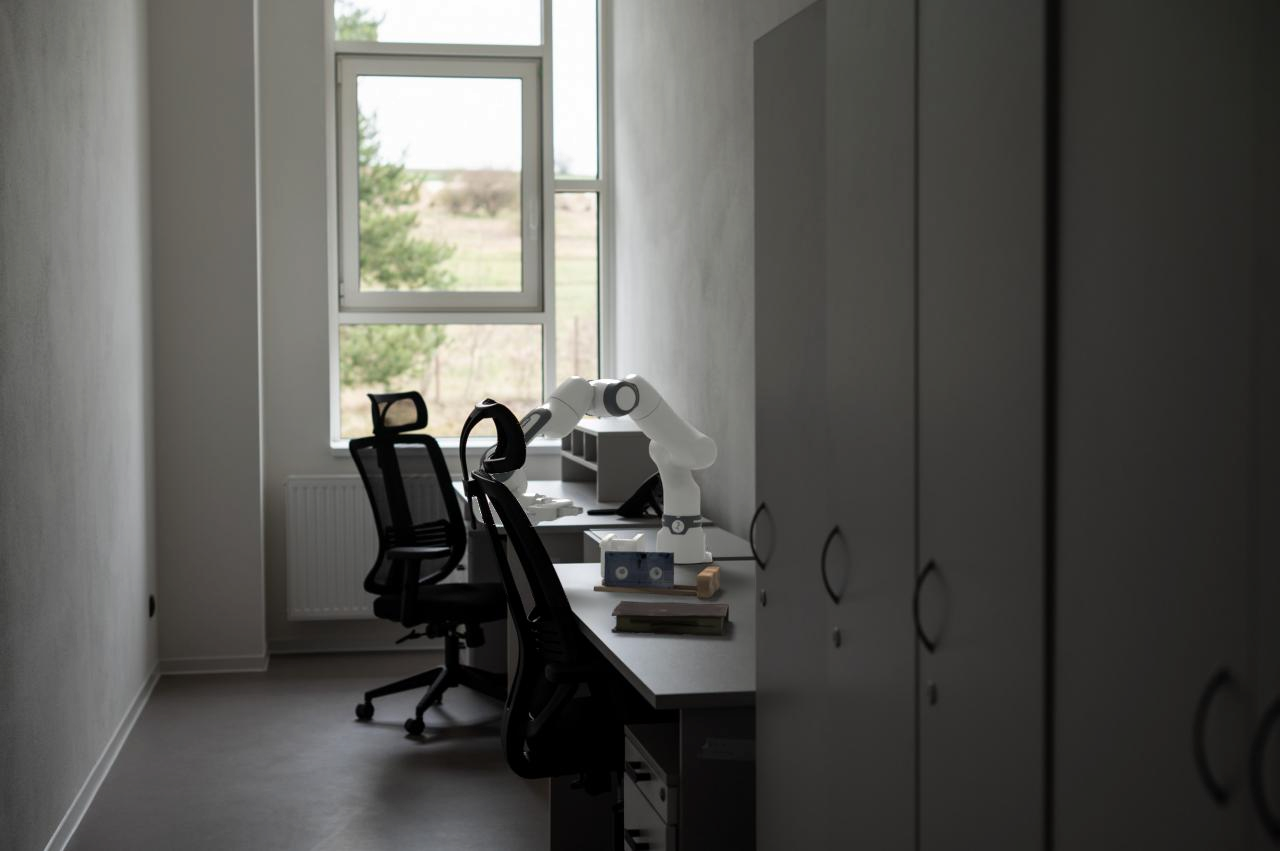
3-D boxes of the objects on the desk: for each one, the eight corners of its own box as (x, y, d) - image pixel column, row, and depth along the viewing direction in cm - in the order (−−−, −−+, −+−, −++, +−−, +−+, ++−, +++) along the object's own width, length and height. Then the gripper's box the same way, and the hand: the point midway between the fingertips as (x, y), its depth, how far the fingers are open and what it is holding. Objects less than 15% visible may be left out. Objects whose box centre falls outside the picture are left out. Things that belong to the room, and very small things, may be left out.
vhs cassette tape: (674, 589, 333) (674, 551, 332) (673, 591, 330) (674, 553, 330) (604, 588, 334) (605, 550, 334) (603, 590, 331) (603, 552, 331)
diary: (621, 620, 295) (621, 598, 295) (728, 623, 292) (728, 602, 292) (610, 635, 276) (610, 612, 276) (725, 639, 273) (725, 616, 273)
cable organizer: (636, 582, 343) (637, 539, 343) (598, 581, 345) (598, 538, 344) (645, 573, 358) (645, 532, 358) (608, 572, 360) (608, 531, 359)
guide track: (606, 582, 342) (606, 561, 342) (719, 587, 335) (719, 566, 335) (590, 592, 327) (590, 570, 326) (709, 598, 320) (709, 576, 319)
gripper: (518, 501, 328) (569, 503, 325) (542, 494, 348) (590, 496, 344) (518, 525, 328) (569, 527, 325) (541, 517, 348) (590, 519, 345)
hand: (580, 511), depth 335 cm, fingers open, 3 cm apart
